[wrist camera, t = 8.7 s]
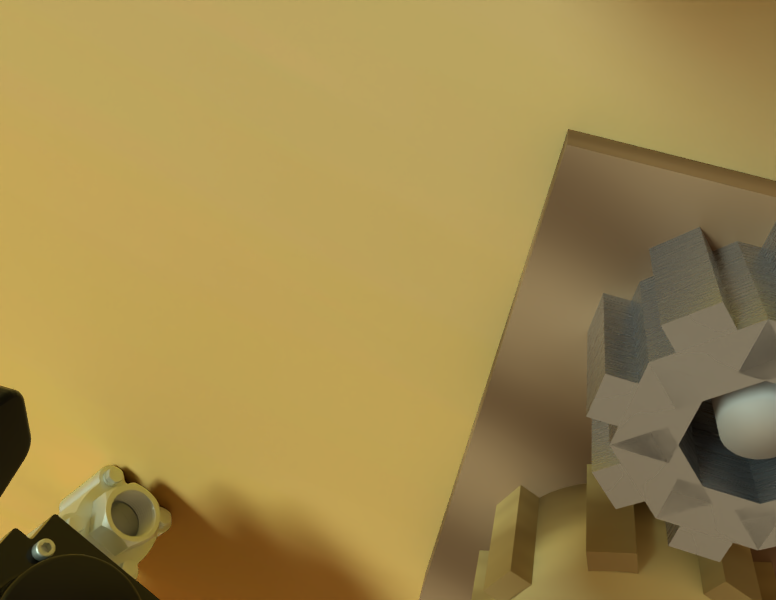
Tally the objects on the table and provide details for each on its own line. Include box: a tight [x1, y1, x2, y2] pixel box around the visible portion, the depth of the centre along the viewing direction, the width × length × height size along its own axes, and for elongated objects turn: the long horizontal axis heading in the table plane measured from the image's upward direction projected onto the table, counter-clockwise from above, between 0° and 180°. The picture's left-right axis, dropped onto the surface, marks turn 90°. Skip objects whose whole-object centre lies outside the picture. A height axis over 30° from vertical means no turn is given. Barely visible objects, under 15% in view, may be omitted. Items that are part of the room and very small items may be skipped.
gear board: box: [419, 129, 776, 600], centre depth 19 cm, size 17×13×5 cm
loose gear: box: [586, 222, 776, 562], centre depth 16 cm, size 7×7×4 cm
